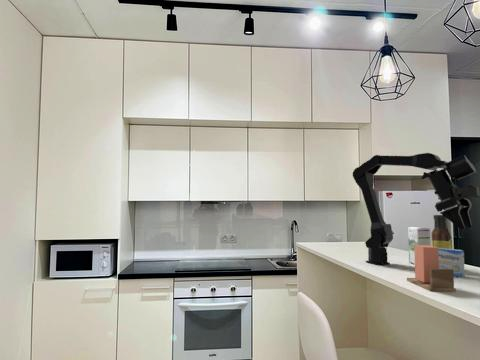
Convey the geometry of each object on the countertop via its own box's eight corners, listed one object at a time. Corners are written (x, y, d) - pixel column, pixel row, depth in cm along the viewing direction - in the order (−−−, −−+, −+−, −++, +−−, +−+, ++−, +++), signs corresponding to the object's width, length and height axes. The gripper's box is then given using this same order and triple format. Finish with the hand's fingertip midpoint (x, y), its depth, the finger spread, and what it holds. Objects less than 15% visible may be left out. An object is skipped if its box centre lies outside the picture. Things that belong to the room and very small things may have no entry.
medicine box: (434, 273, 105) (433, 248, 106) (437, 271, 108) (436, 247, 109) (462, 278, 100) (462, 251, 100) (464, 275, 103) (464, 249, 104)
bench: (406, 280, 95) (406, 261, 95) (429, 280, 95) (429, 261, 96) (430, 291, 84) (429, 269, 84) (456, 291, 84) (455, 269, 84)
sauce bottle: (457, 271, 109) (455, 215, 110) (439, 271, 109) (437, 215, 110) (445, 267, 115) (443, 214, 117) (428, 267, 116) (427, 214, 117)
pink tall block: (415, 278, 93) (414, 245, 94) (429, 278, 93) (428, 245, 94) (424, 282, 88) (423, 247, 89) (439, 282, 89) (438, 247, 89)
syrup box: (432, 265, 119) (431, 228, 120) (418, 265, 118) (417, 227, 119) (421, 262, 125) (420, 226, 126) (408, 263, 124) (407, 226, 125)
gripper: (461, 173, 95) (488, 220, 89) (475, 177, 108) (501, 219, 102) (424, 188, 103) (448, 233, 97) (442, 190, 115) (464, 230, 109)
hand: (467, 228), depth 101 cm, fingers open, 9 cm apart
